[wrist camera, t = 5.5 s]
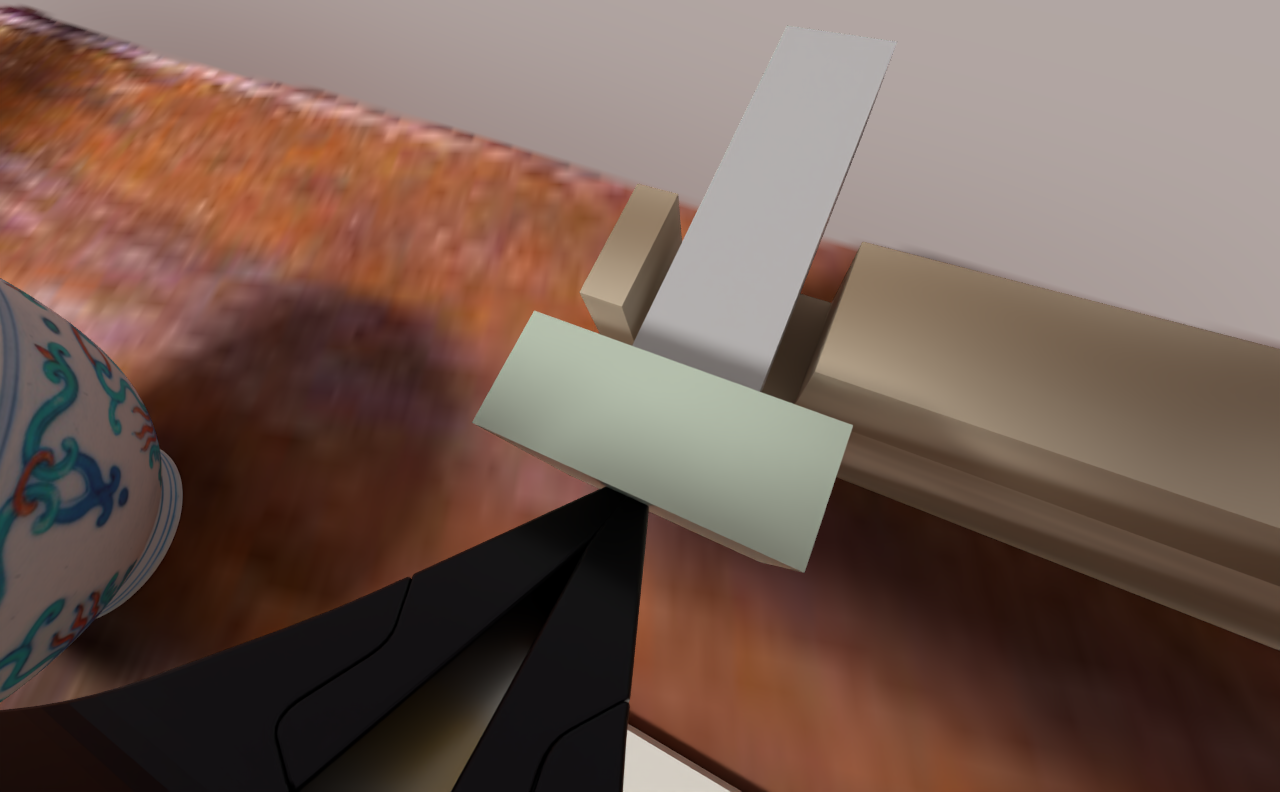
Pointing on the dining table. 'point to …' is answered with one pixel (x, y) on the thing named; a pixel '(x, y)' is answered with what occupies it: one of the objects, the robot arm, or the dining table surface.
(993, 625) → the dining table surface
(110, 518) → the chinaware
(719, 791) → the card
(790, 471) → the button
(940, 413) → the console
